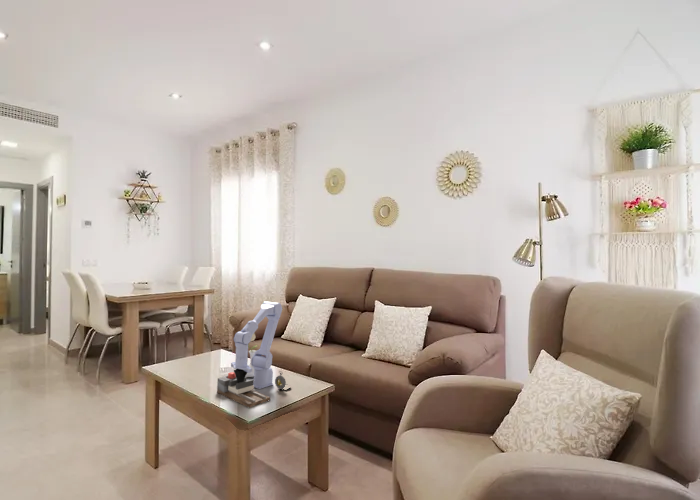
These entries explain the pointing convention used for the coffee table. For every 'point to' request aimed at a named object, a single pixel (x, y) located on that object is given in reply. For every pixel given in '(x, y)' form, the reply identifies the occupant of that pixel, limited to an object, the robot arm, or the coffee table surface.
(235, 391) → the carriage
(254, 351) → the flower in vase
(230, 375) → the button
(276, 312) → the robot arm
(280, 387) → the pocket watch
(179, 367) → the coffee table surface
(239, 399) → the rail board
